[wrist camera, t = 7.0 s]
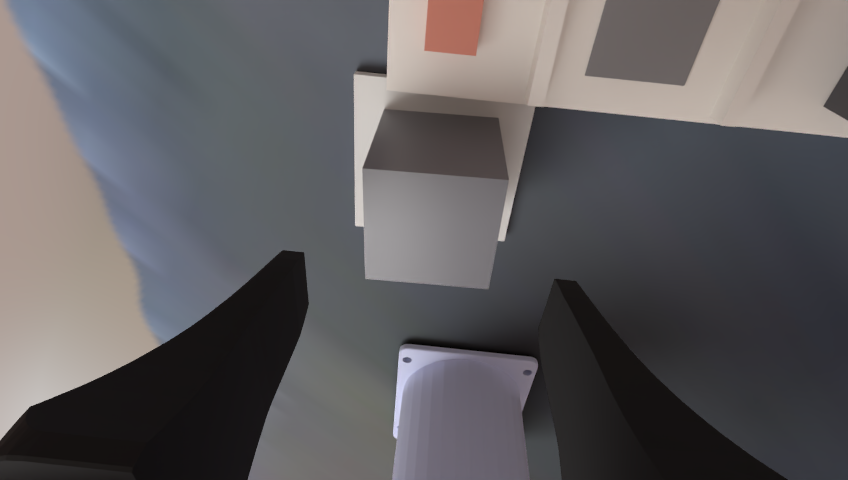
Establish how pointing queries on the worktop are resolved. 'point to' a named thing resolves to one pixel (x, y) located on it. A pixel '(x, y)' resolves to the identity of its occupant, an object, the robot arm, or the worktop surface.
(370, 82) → the mat
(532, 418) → the worktop surface
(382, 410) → the worktop surface
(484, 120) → the block
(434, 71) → the power strip
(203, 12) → the worktop surface
